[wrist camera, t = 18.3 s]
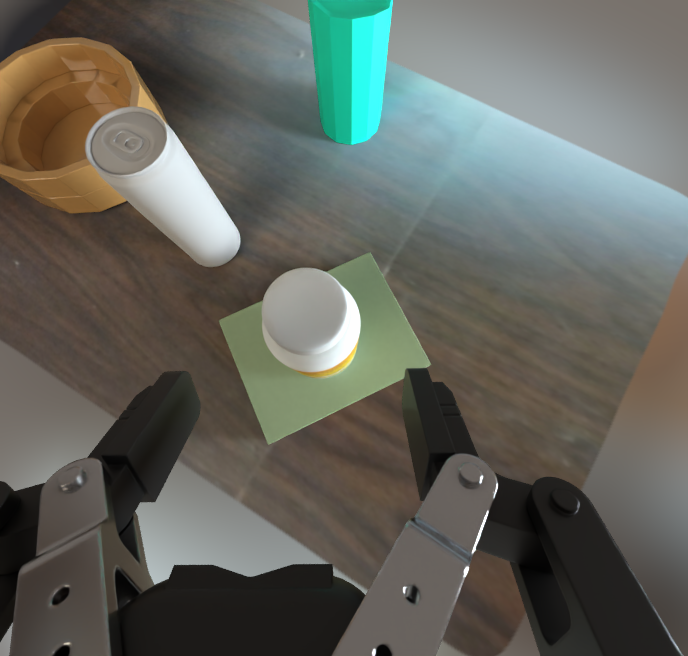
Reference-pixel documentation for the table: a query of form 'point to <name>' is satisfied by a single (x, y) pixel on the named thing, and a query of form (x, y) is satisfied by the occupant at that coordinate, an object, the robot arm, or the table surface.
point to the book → (337, 391)
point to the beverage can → (162, 182)
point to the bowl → (63, 118)
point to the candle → (350, 64)
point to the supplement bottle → (310, 323)
